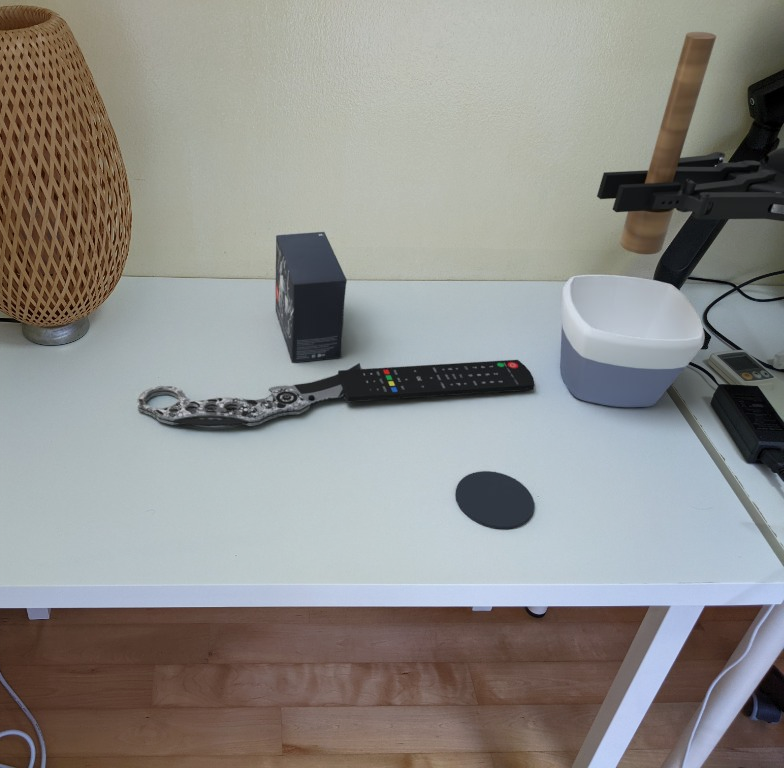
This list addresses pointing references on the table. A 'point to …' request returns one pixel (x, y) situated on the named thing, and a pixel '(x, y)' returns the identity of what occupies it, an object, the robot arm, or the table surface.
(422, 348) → the table surface
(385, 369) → the remote control
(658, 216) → the muddler
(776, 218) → the robot arm
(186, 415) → the knife
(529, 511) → the coaster
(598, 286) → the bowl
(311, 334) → the small box
